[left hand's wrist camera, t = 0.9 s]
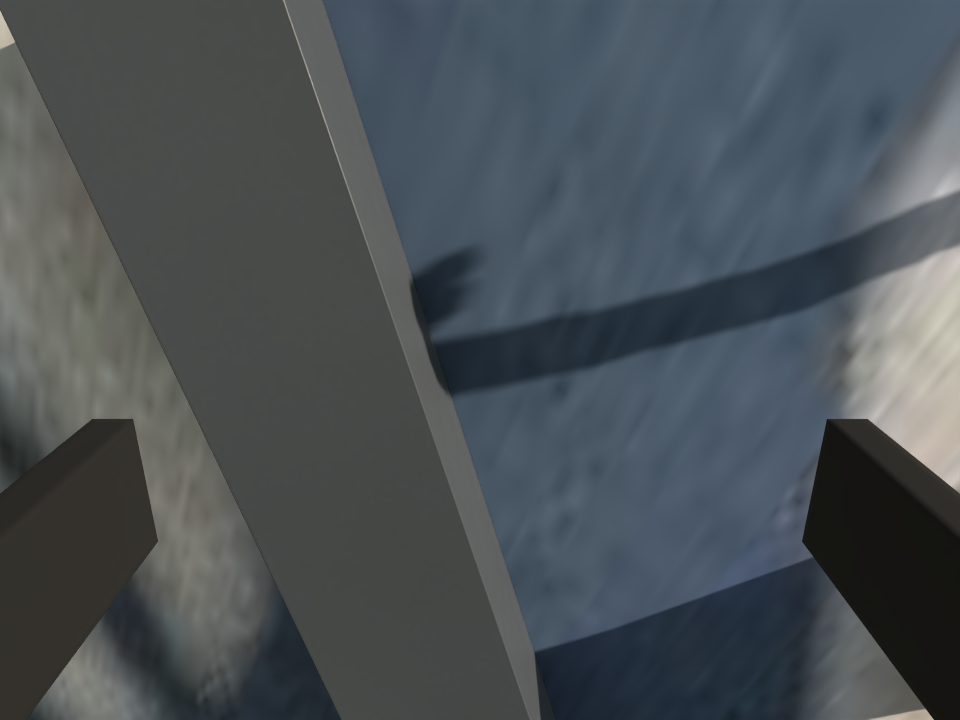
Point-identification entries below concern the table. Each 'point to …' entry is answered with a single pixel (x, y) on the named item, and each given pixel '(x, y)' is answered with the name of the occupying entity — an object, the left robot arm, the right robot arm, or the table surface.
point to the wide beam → (293, 335)
